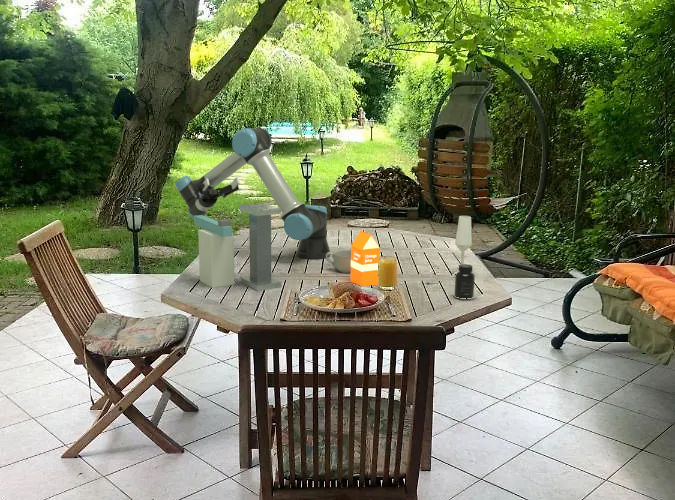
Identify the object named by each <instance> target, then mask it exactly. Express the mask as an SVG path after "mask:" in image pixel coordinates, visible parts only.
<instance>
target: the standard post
mask: <svg viewBox="0 0 675 500" xmlns="http://www.w3.org/2000/svg"><path fill="white" fill-rule="evenodd" d="M238 208H239V211H241V212H244V213H247V214H248V218H249V219H248V221H249V222H248V224H249V225H248V227H249V228H248V229H249V233H248V235H249V236H248V237H249V275H246V276H245V275H244V276H241V277H240V283H242V284H244V286H247V287H249V288H251V289H252V290H255V291H257V292H259V291H266V290H273V289H278V288H282V281H280V280H278V279H276V278H273V277H272V216H273V215H282V211H281V208H279V207H278V206H275V205H271V204H267V203H250V204H249V203H248V204H239V206H238Z"/></svg>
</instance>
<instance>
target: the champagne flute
mask: <svg viewBox="0 0 675 500" xmlns="http://www.w3.org/2000/svg"><path fill="white" fill-rule="evenodd" d="M457 222H458V223H457V230H456V236H455V242H454V244H455V246H456V247H457V249H458V250H459V251H460V252H461V253H460V265H461V264H465V252H466V251H467V250H468V249H470V248H471V246H472V245H473V238H472V237H473V235H472V217H471V216H469V215H459V216H458V221H457ZM457 272H459V269H458V270H457V271H455V272H454V273H457Z"/></svg>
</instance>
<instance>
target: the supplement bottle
mask: <svg viewBox="0 0 675 500" xmlns="http://www.w3.org/2000/svg"><path fill="white" fill-rule="evenodd" d="M458 270H459V272H457V273H456V275H454V276H455V277H454V279H455V280H454V295H455V296H456V297H459V298H472V297H473V298H474V294H475V293H474V292H475V278H476V277H475V274H474V273H473V265H471V264H468V263H467V264H466V263H464V264H461V263H460V264H459V265H458ZM454 295H453V296H454ZM455 296H454V297H455ZM473 298H472V299H473Z"/></svg>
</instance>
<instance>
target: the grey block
mask: <svg viewBox="0 0 675 500" xmlns="http://www.w3.org/2000/svg"><path fill="white" fill-rule="evenodd" d="M197 233H198V235H197V236H198V265H199V267H198V268H199V269H198V270H199V271H198V272H199V281H200V282H201V283H204V284H205V285H207V286H208V287H210V288H212V289H213V288H221V287H227V286H234V285H235V249H234V248H235V243H234V241H235V240H234V239H235V238H234V236H235V235H234V232H232V236H228V237H222V236H220V235H218V234H215V233H213V232H211V231H208V230H206V229H203V228H202V229H198V230H197Z"/></svg>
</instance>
